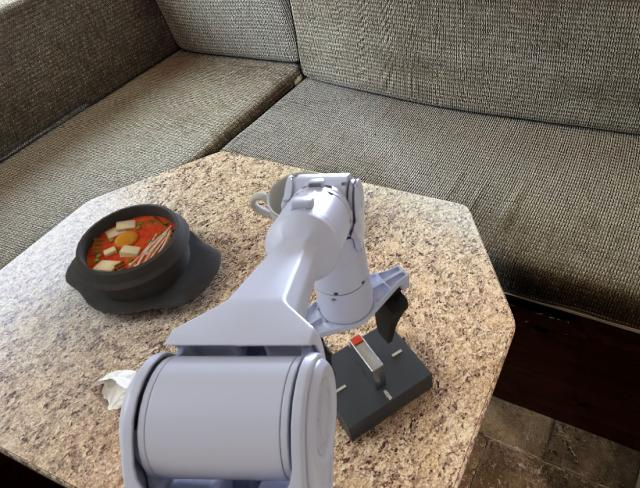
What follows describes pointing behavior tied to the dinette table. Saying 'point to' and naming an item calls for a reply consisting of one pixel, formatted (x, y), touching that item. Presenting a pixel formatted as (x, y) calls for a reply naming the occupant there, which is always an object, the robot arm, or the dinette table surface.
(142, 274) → the casserole
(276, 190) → the teacup
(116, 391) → the tissue
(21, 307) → the dinette table surface
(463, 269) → the dinette table surface
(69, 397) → the dinette table surface
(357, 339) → the tap handle
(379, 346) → the block
